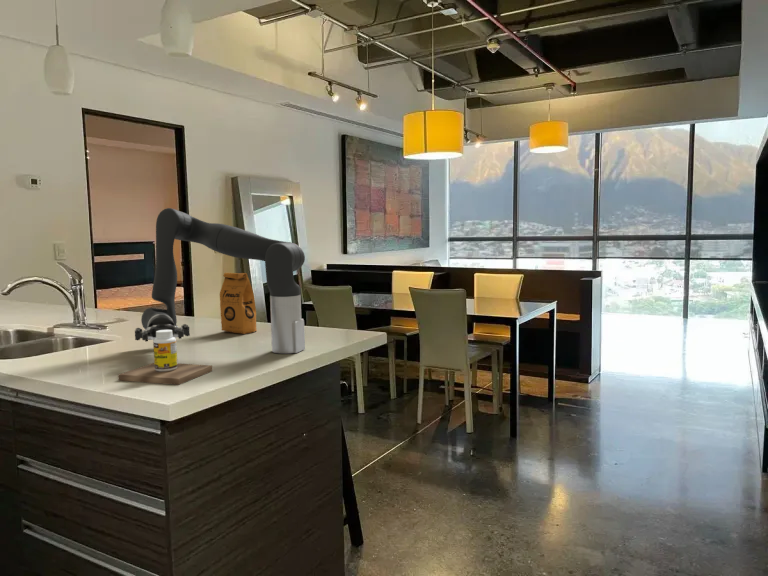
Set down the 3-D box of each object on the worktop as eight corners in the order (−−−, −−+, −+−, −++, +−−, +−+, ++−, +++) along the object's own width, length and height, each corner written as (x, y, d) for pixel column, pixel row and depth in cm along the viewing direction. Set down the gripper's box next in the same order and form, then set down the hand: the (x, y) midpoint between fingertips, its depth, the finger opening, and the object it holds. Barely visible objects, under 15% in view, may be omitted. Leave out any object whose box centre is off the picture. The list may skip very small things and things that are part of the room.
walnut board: (212, 371, 154) (212, 365, 154) (179, 384, 141) (178, 378, 141) (155, 367, 160) (155, 362, 160) (118, 380, 146) (118, 374, 146)
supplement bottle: (150, 371, 149) (147, 332, 148) (164, 366, 154) (162, 328, 153) (168, 372, 147) (165, 332, 146) (182, 367, 152) (180, 329, 151)
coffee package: (241, 335, 206) (238, 274, 204) (217, 332, 213) (214, 273, 211) (261, 331, 215) (259, 272, 212) (238, 328, 222) (235, 271, 219)
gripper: (134, 316, 169) (134, 324, 154) (185, 313, 174) (190, 320, 159) (135, 342, 170) (135, 352, 155) (187, 337, 175) (191, 347, 160)
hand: (163, 336), depth 157 cm, fingers open, 8 cm apart
